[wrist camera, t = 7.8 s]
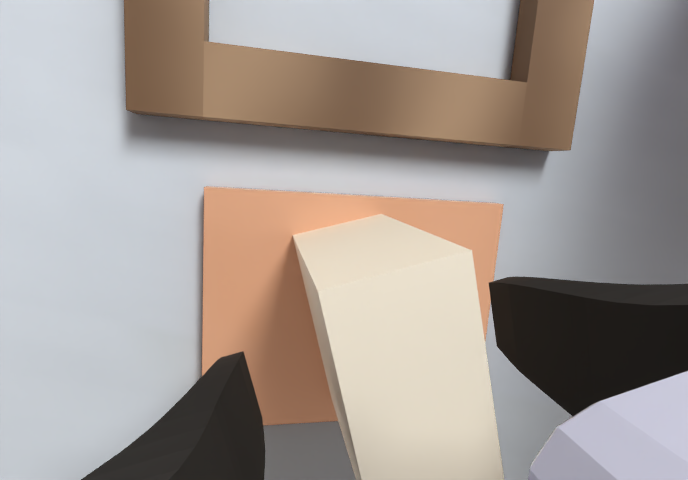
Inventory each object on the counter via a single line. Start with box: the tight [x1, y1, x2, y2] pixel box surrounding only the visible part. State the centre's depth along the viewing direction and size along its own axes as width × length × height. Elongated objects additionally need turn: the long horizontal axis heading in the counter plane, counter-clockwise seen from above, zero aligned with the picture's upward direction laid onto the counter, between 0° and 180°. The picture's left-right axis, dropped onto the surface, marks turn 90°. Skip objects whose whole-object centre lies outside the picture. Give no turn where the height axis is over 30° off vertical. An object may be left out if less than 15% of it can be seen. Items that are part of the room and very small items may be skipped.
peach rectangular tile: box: [202, 186, 504, 425], centre depth 14 cm, size 10×8×1 cm
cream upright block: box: [293, 214, 504, 480], centre depth 11 cm, size 3×6×6 cm, turn 11°
